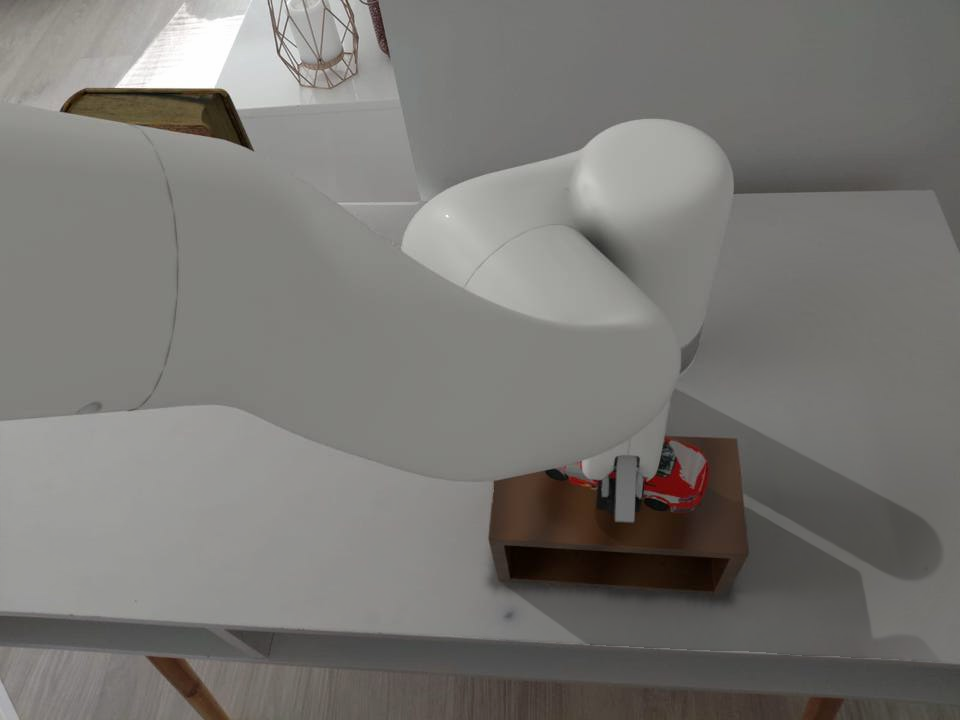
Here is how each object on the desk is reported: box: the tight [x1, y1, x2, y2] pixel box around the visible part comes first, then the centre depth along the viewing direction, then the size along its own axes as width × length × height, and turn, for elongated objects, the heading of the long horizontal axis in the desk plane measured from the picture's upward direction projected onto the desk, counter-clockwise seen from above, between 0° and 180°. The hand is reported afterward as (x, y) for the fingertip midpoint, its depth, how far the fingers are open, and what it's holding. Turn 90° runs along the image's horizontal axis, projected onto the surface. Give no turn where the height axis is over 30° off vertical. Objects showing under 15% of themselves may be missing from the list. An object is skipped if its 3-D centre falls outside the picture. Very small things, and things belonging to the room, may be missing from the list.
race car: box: [545, 437, 709, 513], centre depth 57 cm, size 13×5×4 cm, turn 67°
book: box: [59, 87, 255, 152], centre depth 83 cm, size 16×6×25 cm, turn 82°
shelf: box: [487, 435, 750, 597], centre depth 66 cm, size 20×10×10 cm, turn 84°
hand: (617, 464), depth 58 cm, fingers closed on race car, 6 cm apart
